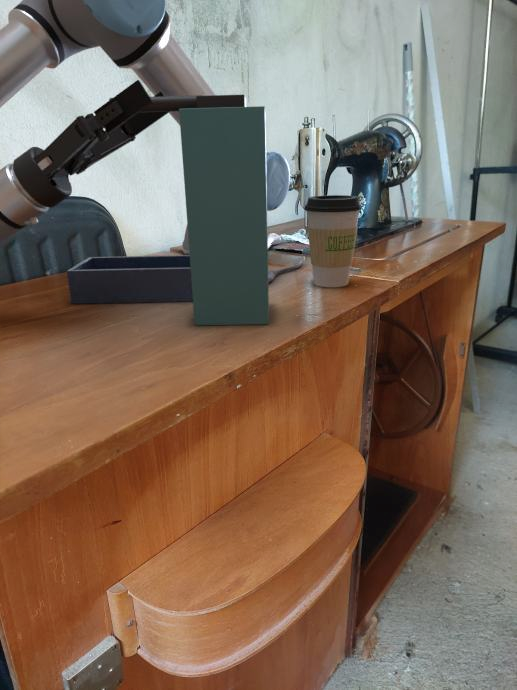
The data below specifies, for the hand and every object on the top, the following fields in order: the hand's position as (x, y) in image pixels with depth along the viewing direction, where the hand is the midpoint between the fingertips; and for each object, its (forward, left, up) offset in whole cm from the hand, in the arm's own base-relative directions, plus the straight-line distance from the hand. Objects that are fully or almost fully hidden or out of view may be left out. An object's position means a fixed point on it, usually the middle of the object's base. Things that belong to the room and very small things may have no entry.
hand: (157, 95), depth 67 cm
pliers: (-30, -6, -30) cm, 43 cm away
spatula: (-44, -21, -30) cm, 58 cm away
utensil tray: (-5, -15, -30) cm, 34 cm away
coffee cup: (-30, +7, -30) cm, 43 cm away
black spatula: (-2, +2, -2) cm, 3 cm away
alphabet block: (-16, -28, -30) cm, 44 cm away
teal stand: (-6, +6, -30) cm, 31 cm away
